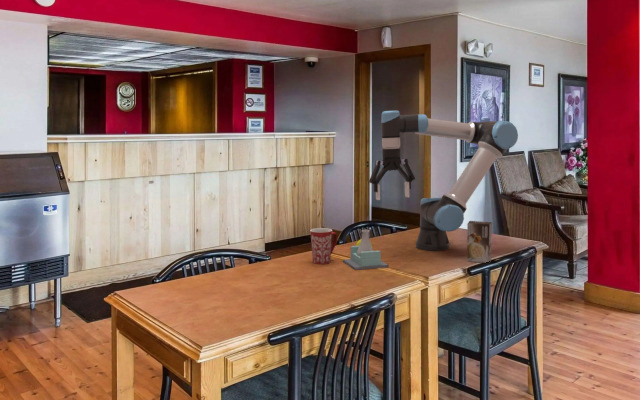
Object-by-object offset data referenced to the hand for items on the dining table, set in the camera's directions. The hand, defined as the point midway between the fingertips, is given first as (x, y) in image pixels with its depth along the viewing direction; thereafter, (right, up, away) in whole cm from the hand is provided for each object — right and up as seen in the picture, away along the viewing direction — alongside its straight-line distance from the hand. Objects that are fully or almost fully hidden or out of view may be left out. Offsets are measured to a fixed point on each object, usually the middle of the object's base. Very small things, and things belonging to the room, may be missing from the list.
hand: (392, 198), depth 237 cm
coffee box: (+35, -26, -6) cm, 44 cm away
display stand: (-12, -27, -11) cm, 31 cm away
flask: (-12, -23, -12) cm, 29 cm away
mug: (-29, -26, -5) cm, 39 cm away
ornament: (-12, -25, +7) cm, 28 cm away
